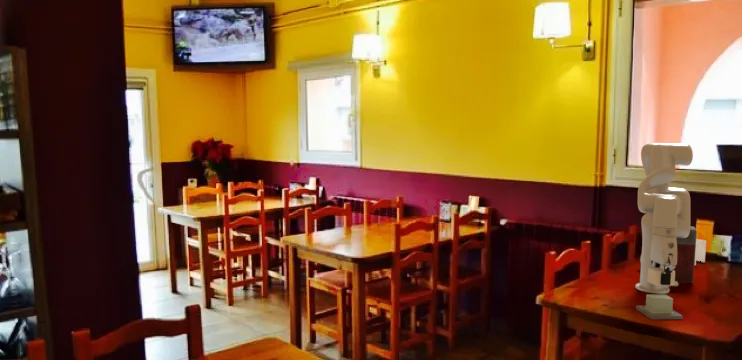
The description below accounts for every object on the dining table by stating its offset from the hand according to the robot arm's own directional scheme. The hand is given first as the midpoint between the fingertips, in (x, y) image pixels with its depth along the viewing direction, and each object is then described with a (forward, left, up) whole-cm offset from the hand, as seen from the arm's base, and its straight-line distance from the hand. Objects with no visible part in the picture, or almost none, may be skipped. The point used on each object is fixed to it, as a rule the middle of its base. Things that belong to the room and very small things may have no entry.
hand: (660, 281), depth 206 cm
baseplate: (0, 0, -12) cm, 12 cm away
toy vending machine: (-33, -45, -12) cm, 57 cm away
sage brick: (0, 0, -10) cm, 10 cm away
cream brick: (0, 0, -1) cm, 1 cm away
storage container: (-50, -74, -12) cm, 90 cm away
